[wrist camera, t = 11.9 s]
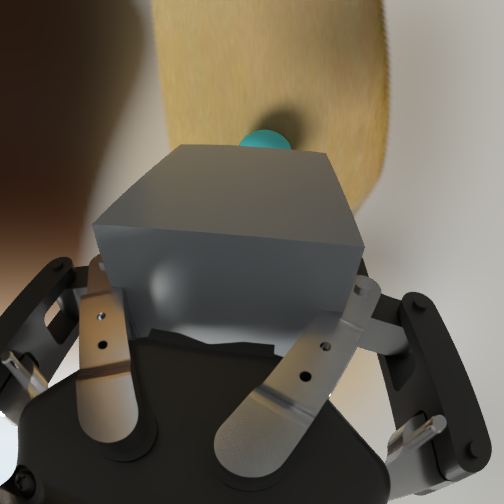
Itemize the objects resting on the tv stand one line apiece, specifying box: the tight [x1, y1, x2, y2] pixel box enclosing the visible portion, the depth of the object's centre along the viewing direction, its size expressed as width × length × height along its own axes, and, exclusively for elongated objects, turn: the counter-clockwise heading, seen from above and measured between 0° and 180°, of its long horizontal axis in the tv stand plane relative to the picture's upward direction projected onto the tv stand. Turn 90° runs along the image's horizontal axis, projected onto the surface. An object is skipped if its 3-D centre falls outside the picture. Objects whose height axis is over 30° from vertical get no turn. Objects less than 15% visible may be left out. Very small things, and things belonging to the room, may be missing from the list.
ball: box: [239, 130, 292, 150], centre depth 25 cm, size 5×5×5 cm
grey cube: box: [92, 145, 365, 357], centre depth 11 cm, size 7×7×7 cm
